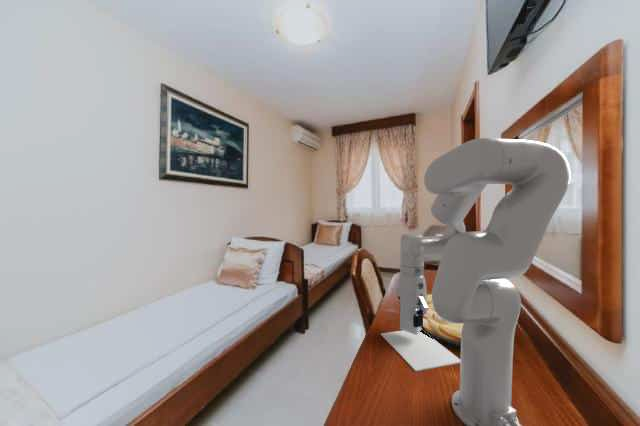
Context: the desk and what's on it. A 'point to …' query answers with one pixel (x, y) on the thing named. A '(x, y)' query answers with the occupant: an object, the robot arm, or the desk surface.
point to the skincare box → (407, 316)
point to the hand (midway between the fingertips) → (410, 320)
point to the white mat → (420, 350)
